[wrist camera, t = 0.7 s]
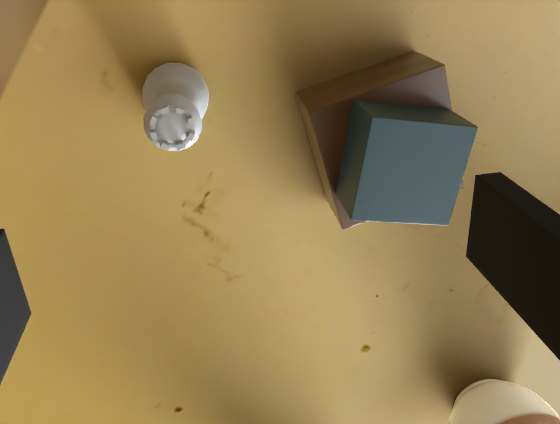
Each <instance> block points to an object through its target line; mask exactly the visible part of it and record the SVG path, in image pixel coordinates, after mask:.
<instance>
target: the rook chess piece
mask: <svg viewBox="0 0 560 424" xmlns="http://www.w3.org/2000/svg"><path fill="white" fill-rule="evenodd" d="M142 95H143V106H144V108H145V110H146V113H145V116H144V130H145V132H146V134H147V136H148V138H149V140H150V141H152V142H153V143H154V144H155V145H156V146H157V147H159V148H162V149H164V150H167V151H181V150H183V149H186V148H189V147H190V146H191V145H192V144H193V143H194V142H196V141H197V139H198V137H199V135H200V133H201V130H202V118H203V116H204V114H205V112H206V110H207V107H208V103H209V90H208V88H207V85H206V83H205V80H204V78H203V77H202V76H201V75H200V74H199V73H198V72H197V71H196V70H195V69H194V68H192V67H189V66H187V65H185V64H183V63H166V64H164V65H161V66H158V67H156V68H155V69H154V70H153V71H152V72H151V73H150V74H149V75H148V76H147V78H146V80H145V83H144V85H143V88H142Z"/></svg>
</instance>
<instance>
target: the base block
mask: <svg viewBox="0 0 560 424" xmlns="http://www.w3.org/2000/svg"><path fill="white" fill-rule="evenodd" d="M295 95H296V98H297V102H298V105H299V108H300V112H301V115H302V119H303V122H304V125H305V129H306V132H307V135H308V139H309V142H310V145H311V149H312V152H313V155H314V159H315V162H316V165H317V169H318V172H319V176H320V179H321V182H322V186H323V189H324V192H325V196H326V199H327V201H328V203H329V205H330V207H331V209H332V211H333V212H334V214H335V216H336V218H337V220H338V222H339V224H340V225H341V227H342V229H343V230H344V229H347V228H349V227H352V226H355V225H358V224H361V223H364V222H367V221H358V220H351V219H350V218H349V216H348V214H347V213H346V211H345V209H344V208H343V206H342V204H341V202H340V201H339V199H338V197H337V196H336V194H335V193H336V187H337V182H338V177H339V172H340V167H341V162H342V156H343V151H344V146H345V141H346V136H347V131H348V126H349V120H350V115H351V110H352V105H353V100H354V99H357V100H366V101H376V102H386V103H396V104H406V105H416V106H426V107H436V108H445V109H450V110H451V111H452V109H451V103H450V97H449V90H448V84H447V78H446V71H445V65H444V64H442V63H440V62H438V61H436V60H433V59H431V58H429V57H427V56H425V55H423V54H420V53H418V52H416V51H413V52H410V53H407V54H405V55H402V56H399V57H396V58H393V59H390V60H387V61H384V62H382V63H379V64H376V65H373V66H370V67H367V68H364V69H362V70H359V71H356V72H353V73H350V74H347V75H344V76H341V77H339V78H336V79H333V80H330V81H327V82H324V83H321V84H318V85H316V86H313V87H310V88H307V89H304V90H301V91H298V92H296V93H295ZM462 188H464V186H463V179H462V182H461V185H460V188H459V189H462Z"/></svg>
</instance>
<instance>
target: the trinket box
mask: <svg viewBox="0 0 560 424" xmlns="http://www.w3.org/2000/svg"><path fill="white" fill-rule="evenodd" d="M449 424H560V416H559V415H558V414H557V413H556V412H555V411H554V409H553V408H552V407H551V406H550V405H549V404H548V403H547V402H546V401H545V400H543V399H542V398H541V397H540V396H538V395H537V394H536V393H535V392H533V391H532V390H530V389H528V388H526V387H524V386H522V385H519V384H516V383H513V382H508V381H501V380H497V379H484V380H480V381H477V382H474V383H472V384H470V385H469V386H467V387H466V388H465V389H463V390H462V391H461V392H460V393H459V395H458V396H457V398H456V400H455V402H454V406H453V409H452V412H451V414H450V417H449Z"/></svg>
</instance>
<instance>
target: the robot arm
mask: <svg viewBox="0 0 560 424" xmlns="http://www.w3.org/2000/svg"><path fill="white" fill-rule="evenodd" d="M466 257H467V258H468V259H469V260H470V261H471V262H472V264H473V265H474V266H475V267H476V268H477V269H478V270H479V271H480V272H481V274H482V275H483V276H484V277H485V278H486V279H487V280H488V281H489V282H490V283H491V285H492V286H493V287H494V288H495V289H496V290H497V291H498V292H499V293H500V295H501V296H502V297H503V298H504V299H505V300H506V301H507V302H508V303H509V305H510V306H511V307H512V308H513V309H514V310H515V311H516V312H517V313H518V315H519V316H520V317H521V318H522V319H523V320H524V321H525V322H526V323H527V325H528V326H529V327H530V328H531V329H532V330H533V331H534V332H535V333H536V335H537V336H538V337H539V338H540V339H541V340H542V341H543V342H544V343H545V345H546V346H547V347H548V348H549V349H550V350H551V351H552V352H553V353H554V354H555V356H556V357H557V358H558V359H559V360H560V215H559V214H558V213H557V212H555V211H554V210H552V209H551V208H550V207H548V206H547V205H545V204H544V203H543V202H541V201H540V200H538V199H537V198H536V197H534V196H533V195H531V194H530V193H529V192H527V191H526V190H524V189H523V188H522V187H520V186H519V185H517V184H516V183H515V182H513V181H512V180H510V179H509V178H508V177H506V176H505V175H503V174H502V173H501V172H498V173H489V174H481V175H475V184H474V193H473V201H472V210H471V218H470V227H469V236H468V244H467V253H466ZM30 315H31V311H30V308H29V305H28V301H27V298H26V295H25V292H24V289H23V286H22V283H21V280H20V277H19V274H18V270H17V267H16V264H15V261H14V258H13V255H12V252H11V249H10V246H9V243H8V239H7V236H6V233H5V230H4V229H0V384H1V382H2V379H3V377H4V375H5V373H6V370H7V368H8V366H9V363H10V361H11V359H12V356H13V354H14V352H15V350H16V347H17V345H18V343H19V340H20V338H21V336H22V334H23V331H24V329H25V327H26V324H27V322H28V320H29V317H30Z"/></svg>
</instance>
